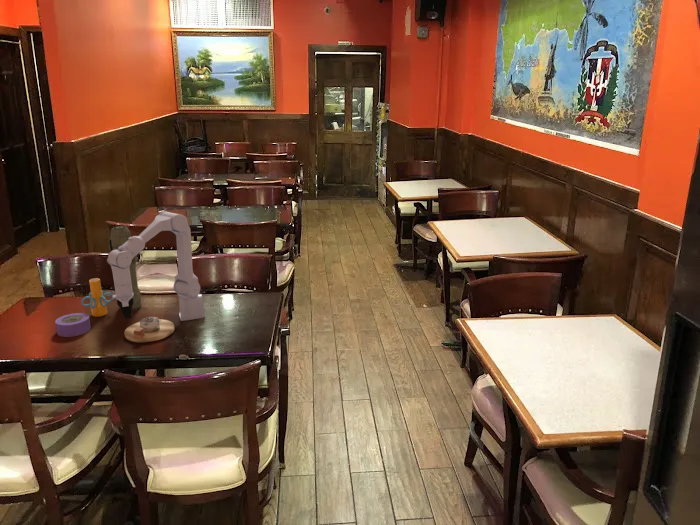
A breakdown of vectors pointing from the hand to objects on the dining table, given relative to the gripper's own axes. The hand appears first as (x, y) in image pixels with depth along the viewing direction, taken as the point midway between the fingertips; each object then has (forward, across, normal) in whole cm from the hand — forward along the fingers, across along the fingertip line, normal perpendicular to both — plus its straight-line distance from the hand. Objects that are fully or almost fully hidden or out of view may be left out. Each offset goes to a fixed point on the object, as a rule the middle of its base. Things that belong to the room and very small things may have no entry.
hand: (127, 318), depth 205 cm
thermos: (+10, -35, +1) cm, 36 cm away
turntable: (+9, -5, +7) cm, 13 cm away
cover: (+8, -5, +7) cm, 12 cm away
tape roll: (+10, -19, -20) cm, 29 cm away
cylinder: (+10, -32, -11) cm, 35 cm away
